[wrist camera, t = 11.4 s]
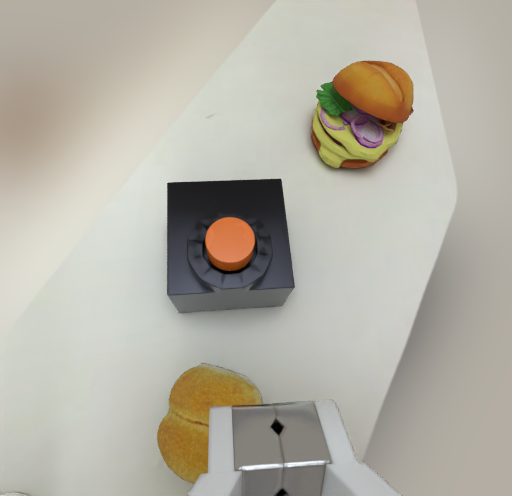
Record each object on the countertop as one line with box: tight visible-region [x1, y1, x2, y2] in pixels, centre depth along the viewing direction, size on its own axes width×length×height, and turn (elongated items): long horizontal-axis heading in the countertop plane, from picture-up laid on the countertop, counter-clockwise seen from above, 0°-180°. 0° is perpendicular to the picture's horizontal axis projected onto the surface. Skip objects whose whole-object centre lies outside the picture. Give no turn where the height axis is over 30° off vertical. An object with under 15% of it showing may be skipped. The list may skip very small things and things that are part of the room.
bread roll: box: [157, 363, 262, 484], centre depth 30 cm, size 8×9×4 cm
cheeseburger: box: [312, 61, 414, 168], centre depth 41 cm, size 10×11×10 cm
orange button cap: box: [205, 217, 255, 271], centre depth 28 cm, size 4×4×2 cm
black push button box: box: [167, 179, 295, 313], centre depth 33 cm, size 10×10×9 cm
